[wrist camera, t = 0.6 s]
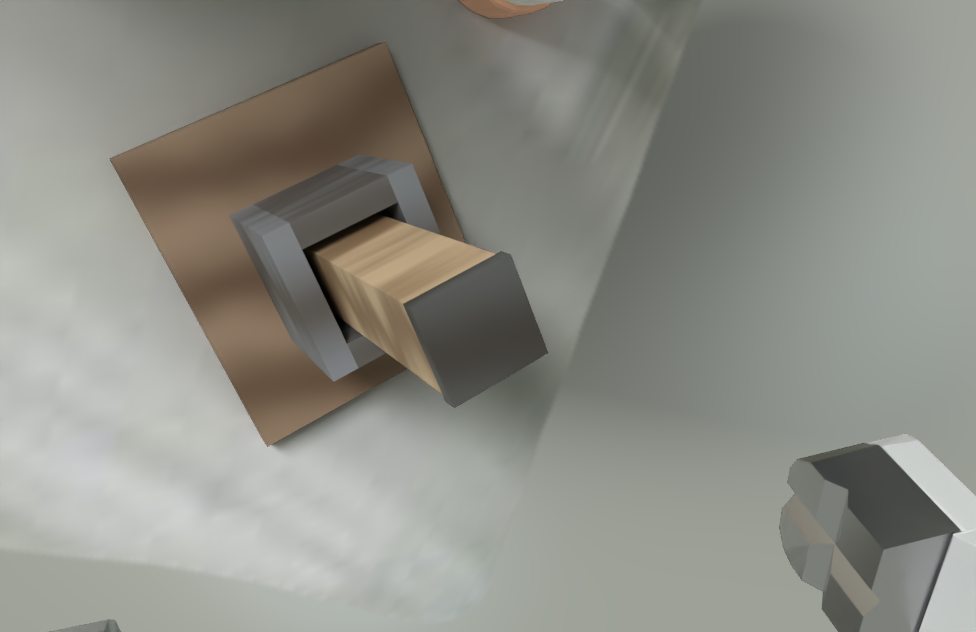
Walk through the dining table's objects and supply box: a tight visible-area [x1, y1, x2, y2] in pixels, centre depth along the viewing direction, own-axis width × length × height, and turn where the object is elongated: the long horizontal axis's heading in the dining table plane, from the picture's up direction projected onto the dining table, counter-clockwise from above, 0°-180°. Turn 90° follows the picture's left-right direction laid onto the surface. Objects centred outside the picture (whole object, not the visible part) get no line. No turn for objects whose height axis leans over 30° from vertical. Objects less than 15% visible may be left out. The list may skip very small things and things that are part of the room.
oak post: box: [302, 213, 548, 408], centre depth 41 cm, size 4×4×21 cm
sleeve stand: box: [110, 42, 466, 447], centre depth 48 cm, size 18×16×10 cm
